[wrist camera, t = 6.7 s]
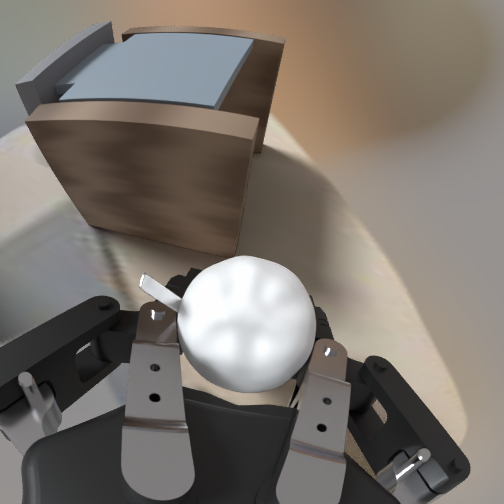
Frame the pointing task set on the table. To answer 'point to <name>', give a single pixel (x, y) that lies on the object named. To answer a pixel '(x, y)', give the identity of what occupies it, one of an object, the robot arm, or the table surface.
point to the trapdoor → (137, 69)
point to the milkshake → (242, 323)
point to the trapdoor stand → (165, 154)
